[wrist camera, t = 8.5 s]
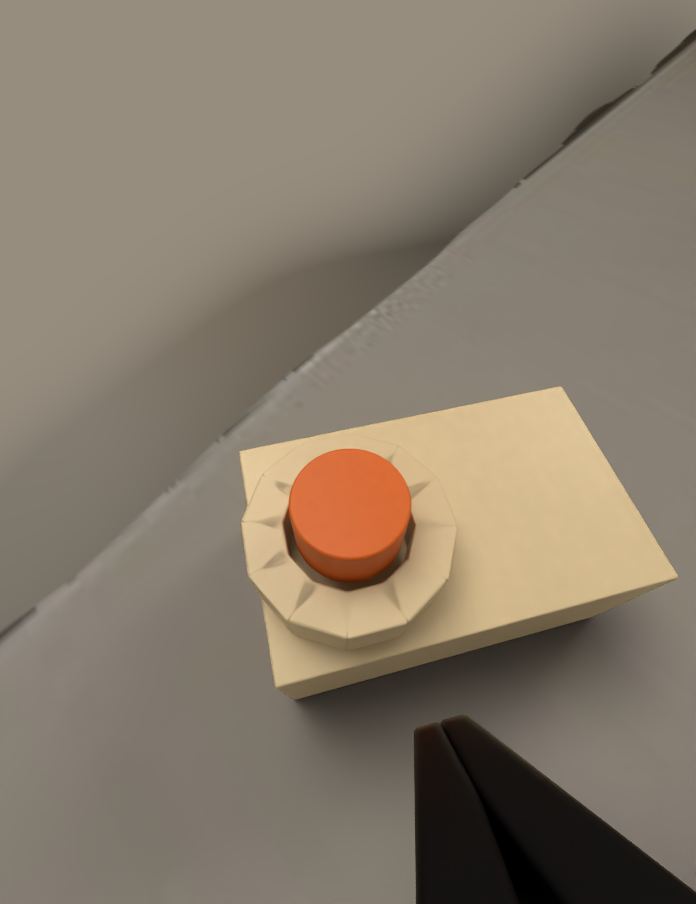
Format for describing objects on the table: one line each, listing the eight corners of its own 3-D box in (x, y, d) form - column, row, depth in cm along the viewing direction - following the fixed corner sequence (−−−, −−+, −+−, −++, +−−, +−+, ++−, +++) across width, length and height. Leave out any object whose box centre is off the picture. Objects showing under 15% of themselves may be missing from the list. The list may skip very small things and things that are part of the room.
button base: (592, 617, 20) (724, 557, 13) (292, 701, 18) (263, 682, 11) (513, 459, 24) (583, 350, 17) (261, 515, 22) (225, 419, 15)
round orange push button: (417, 568, 13) (429, 543, 12) (306, 595, 13) (301, 574, 11) (385, 471, 15) (391, 437, 13) (286, 493, 14) (278, 460, 13)
